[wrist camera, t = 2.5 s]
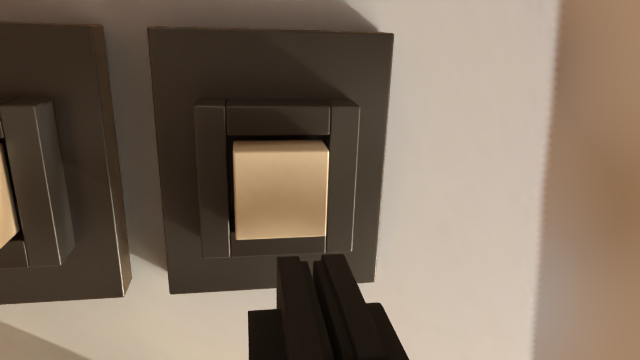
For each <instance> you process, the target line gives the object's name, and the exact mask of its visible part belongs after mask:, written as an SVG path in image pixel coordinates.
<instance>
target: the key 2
mask: <svg viewBox="0 0 640 360" xmlns="http://www.w3.org/2000/svg"><path fill="white" fill-rule="evenodd" d="M328 169H329V150H328V149H327V147H326V146H325V144H324V143H323V141H322V140H235V141H234V142H233V177H234V209H235V238H236V240H246V239H269V238H292V237H315V236H325V235H326V223H327V196H328Z"/></svg>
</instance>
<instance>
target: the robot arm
mask: <svg viewBox="0 0 640 360" xmlns="http://www.w3.org/2000/svg"><path fill="white" fill-rule="evenodd" d="M248 334H249V360H409V358H408V356H407V354H406V352H405V350H404V348H403V346H402V344H401V342H400V340H399V338H398V336H397V334H396V332H395V330H394V328H393V326H392V324H391V322H390V320H389V318H388V316H387V314H386V312H385V310H384V308H383V306H382V305H381V304H380V303H365V301H364V298H363V296H362V294H361V292H360V289H359V287H358V285H357V283H356V280H355V278H354V276H353V274H352V271H351V269H350V267H349V265H348V262H347V260H346V258H345V256H344V254H326V255H321V260H319V261H314V262H313V279H312V275H311V272H310V268H309V264H308V261H300V258H299V256H284V257H277V309H271V310H256V311H248Z"/></svg>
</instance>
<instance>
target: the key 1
mask: <svg viewBox="0 0 640 360" xmlns="http://www.w3.org/2000/svg"><path fill="white" fill-rule="evenodd" d="M18 231H19V224H18V219H17V214H16V209H15V204H14V199H13V194H12V188H11V183H10V178H9V173H8V168H7V163H6V158H5V152H4V147H3V144H2V143H0V249H1V248H2V247H3V246H4V245H5V244H6V243H7V242H8V241H9V240H10V239H11V238H12V237H13V236H14V235H15V234H16V233H17V232H18Z"/></svg>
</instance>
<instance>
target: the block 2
mask: <svg viewBox="0 0 640 360" xmlns="http://www.w3.org/2000/svg"><path fill="white" fill-rule="evenodd" d="M147 33H148V45H149V57H150V68H151V80H152V92H153V103H154V115H155V127H156V139H157V150H158V162H159V174H160V186H161V197H162V209H163V221H164V233H165V244H166V256H167V268H168V280H169V291H170V294H186V293H203V292H219V291H236V290H253V289H269V288H277V257H284V256H299V258H300V261H308V264H309V268H310V272H311V275H312V279H313V262H314V261H319V260H321V255H326V254H344V256H345V258H346V260H347V262H348V265H349V267H350V269H351V271H352V274H353V276H354V278H355V280H356V283H369V282H375V277H376V264H377V251H378V238H379V225H380V212H381V199H382V186H383V173H384V160H385V147H386V134H387V121H388V108H389V95H390V82H391V69H392V56H393V43H394V34H393V33H384V32H354V31H318V30H282V29H246V28H210V27H174V26H151V27H148V28H147ZM235 140H322V141H323V143H324V144H325V146H326V147H327V149H328V150H329V169H328V196H327V223H326V235H325V236H315V237H292V238H269V239H246V240H236V238H235V209H234V177H233V142H234V141H235Z"/></svg>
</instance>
